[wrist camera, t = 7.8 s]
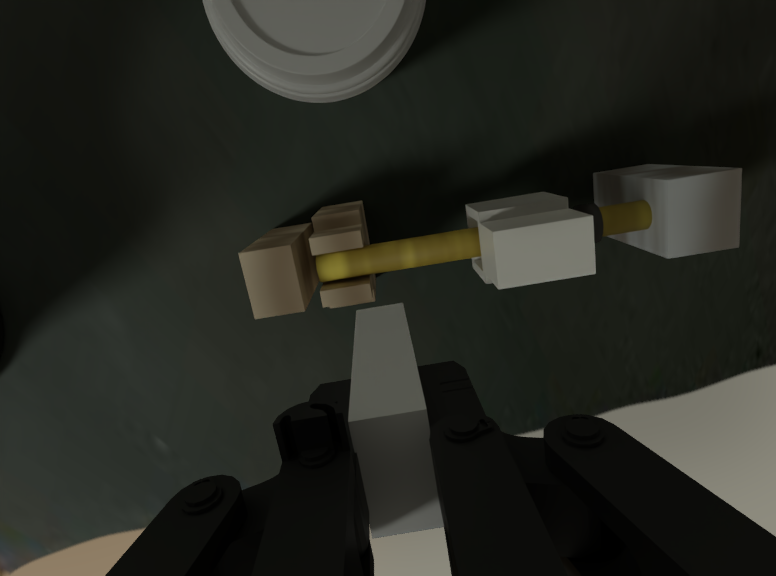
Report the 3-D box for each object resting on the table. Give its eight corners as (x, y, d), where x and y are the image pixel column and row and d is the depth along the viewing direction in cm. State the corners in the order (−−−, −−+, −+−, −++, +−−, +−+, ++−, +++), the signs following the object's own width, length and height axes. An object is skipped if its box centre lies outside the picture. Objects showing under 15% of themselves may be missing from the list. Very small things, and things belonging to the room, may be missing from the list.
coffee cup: (436, 23, 32) (482, -82, 18) (361, 147, 34) (349, 144, 20) (312, -67, 31) (254, -260, 16) (242, 70, 33) (136, 5, 18)
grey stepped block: (472, 267, 32) (499, 300, 25) (465, 204, 31) (491, 220, 24) (547, 255, 32) (596, 285, 25) (543, 191, 31) (592, 203, 24)
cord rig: (286, 292, 37) (256, 338, 28) (269, 215, 36) (231, 237, 27) (648, 233, 37) (738, 260, 27) (647, 152, 35) (742, 152, 26)
